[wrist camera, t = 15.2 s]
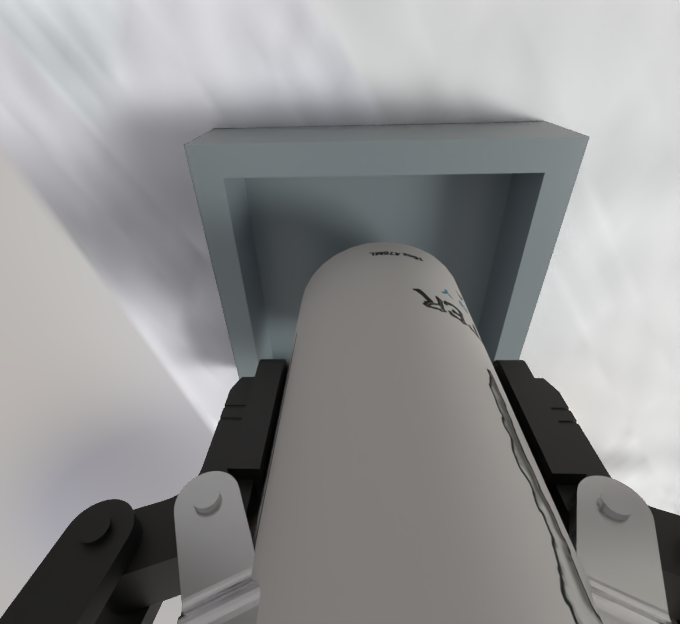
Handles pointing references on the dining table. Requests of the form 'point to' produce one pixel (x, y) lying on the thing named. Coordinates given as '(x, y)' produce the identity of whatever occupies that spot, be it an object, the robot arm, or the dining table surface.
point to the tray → (381, 216)
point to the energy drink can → (404, 466)
